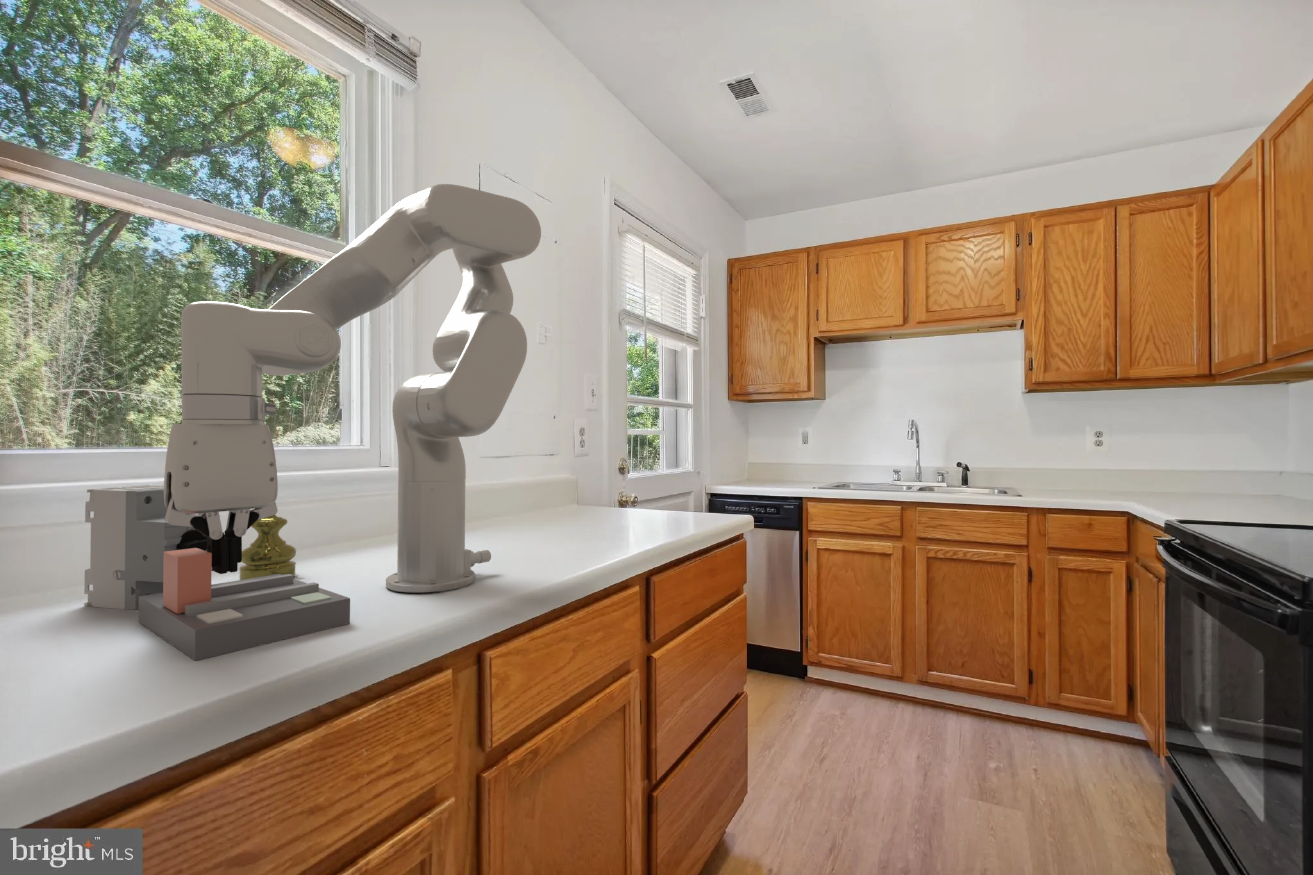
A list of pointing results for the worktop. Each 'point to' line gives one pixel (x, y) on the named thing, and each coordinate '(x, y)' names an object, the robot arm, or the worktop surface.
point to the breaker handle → (186, 578)
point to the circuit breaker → (131, 544)
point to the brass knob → (268, 551)
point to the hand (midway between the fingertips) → (224, 570)
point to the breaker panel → (245, 615)
